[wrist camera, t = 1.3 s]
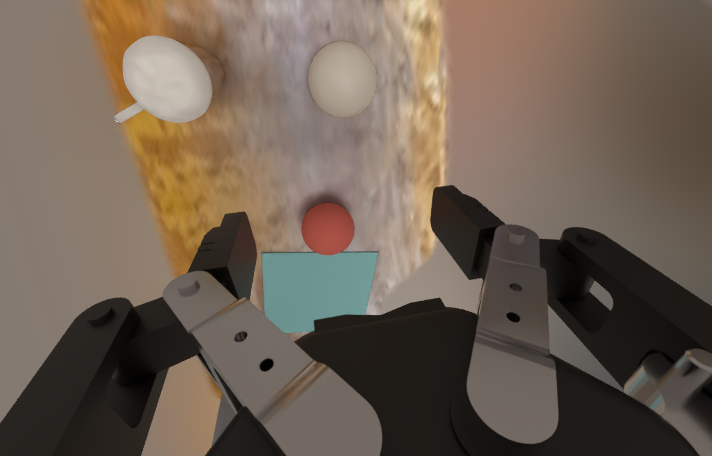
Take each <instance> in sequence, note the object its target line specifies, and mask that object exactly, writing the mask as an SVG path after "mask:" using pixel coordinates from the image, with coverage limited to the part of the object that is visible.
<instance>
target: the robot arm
mask: <svg viewBox="0 0 712 456" xmlns="http://www.w3.org/2000/svg"><path fill="white" fill-rule="evenodd" d="M430 221H431V227H432V230H433V232H434V233H435V235H436V236H437V237H438V239H439V240H440V241H441V243H442V244H443V245H444V247H445V248H446V249H447V251H448V252H449V253H450V255H451V256H452V257H453V259H454V260H455V261H456V263H457V264H458V265H459V267H460V268H461V270H462V271H463V272H464V274H465V275H466V276H467V278H468V279H469V280H472V279H477V278H482V279H483V283H482V288H481V292H480V297H479V301H478V306H477V311H476V314H475V313H472V312H469V311H466V310H463V309H458V308H451V307H445V305H444V304H443V302H442V300H441V299H440V298H435V299H429V300H424V301H418V302H412V303H409V304H407V305H404V306H402V307H399V308H397V309H395V310H392V311H390V312H387V313H385V314H382V315H352V314H345V315H339V316H334V317H328V318H323V319H317V320H314V331H312V332H310V333H308V334H306V335H304V336H302V337H300V338H299V339H298V340H296V341H295V342H293V341H292V340H291V339H290V338H289V337H288V336H287V335H286V334H285V333H283V332H282V331H281V330H280V329H279V328H278V327H277V326H276V325H275V324H274V323H273V322H271V321H270V320H269V319H268V318H267V317H266V316H265V315H264V314H263V313H262V312H261V311H259V310H258V309H257V308H256V307H255V306H254V305H253V304H252V303H251V302H250V301H249V300H250V294H251V288H252V282H253V276H254V270H255V265H256V259H257V250H256V244H255V240H254V237H253V234H252V230H251V227H250V223H249V220H248V217H247V214H246V212H237V213H229V214H225V215H224V218H223V220H222V223H221V225H220V227H215V228H212V229H211V230H210V231H209V232H208V233H207V234H206V235H205V236H204V238H203V240H202V242H201V245H200V247H199V249H198V252H197V253H196V255H195V257H194V260H193V262H192V264H191V266H190V268H189V270H188V273H186V274H183V275H181V276H179V277H177V278H176V279H174V280H173V281H171V282H170V283H169V284H168V285H167V287H166V288H165V289H164V292H163V297H161V298H158V299H156V300H153V301H150V302H147V303H145V304H142V305H139V306H136V307H133V305H132V304H131V302H130V301H129V300H128V299H126V298H112V299H108V300H105V301H102V302H100V303H97V304H95V305H93V306H91V307H90V308H88V309H87V310H85V311H84V312H82V313H81V314H80V315H79V316H78V317H77V318H76V319H75V320H74V321H73V323H72V324H71V325H70V327H69V328H68V329H67V331H66V332H65V334H64V335H63V336H62V338H61V339H60V341H59V342H58V343H57V345H56V346H55V348H54V349H53V350H52V352H51V353H50V355H49V356H48V357H47V359H46V360H45V362H44V363H43V364H42V366H41V367H40V369H39V370H38V371H37V373H36V374H35V376H34V377H33V378H32V380H31V381H30V383H29V384H28V385H27V387H26V388H25V390H24V391H23V392H22V394H21V395H20V397H19V398H18V399H17V401H16V402H15V404H14V405H13V406H12V408H11V409H10V411H9V412H8V413H7V415H6V416H5V418H4V419H3V420H2V422H1V423H0V456H141V454H142V451H143V448H144V444H145V441H146V438H147V435H148V432H149V429H150V426H151V422H152V419H153V416H154V413H155V410H156V407H157V403H158V400H159V397H160V394H161V391H162V388H163V384H164V381H165V378H166V375H167V372H168V369H169V367H171V366H173V365H176V364H178V363H180V362H182V361H184V360H187V359H189V358H191V357H193V356H197V357H198V359H199V360H200V362H201V363H202V365H203V366H204V367H205V369H206V370H207V372H208V373H209V374H210V376H211V377H212V379H213V380H214V382H215V383H216V384H217V386H218V387H219V389H220V390H221V392H222V396H221V401H220V406H219V411H218V417H217V421H216V426H215V431H214V437H213V442H212V447H211V448H210V450H209V451H208V452H207V454H206V455H205V456H712V306H710V305H709V304H707V303H706V302H704V301H703V300H701V299H700V298H698V297H697V296H695V295H694V294H692V293H691V292H689V291H688V290H686V289H685V288H683V287H682V286H680V285H679V284H677V283H676V282H674V281H673V280H671V279H670V278H668V277H667V276H665V275H664V274H662V273H661V272H659V271H658V270H656V269H655V268H653V267H652V266H650V265H649V264H647V263H646V262H644V261H643V260H641V259H640V258H638V257H637V256H635V255H634V254H632V253H631V252H629V251H628V250H626V249H625V248H623V247H622V246H620V245H619V244H617V243H616V242H614V241H613V240H611V239H610V238H608V237H607V236H605V235H604V234H601V233H599V232H597V231H594V230H591V229H587V228H581V227H572V228H567V229H565V230H564V232H563V233H562V236H561V238H560V240H553V239H539V236H538V235H537V234H536V233H535V232H534V231H532V230H530V229H528V228H526V227H523V226H519V225H512V224H507V225H506V224H505V223H504V222H502V221H501V220H500V219H499V218H498V217H496V216H495V215H494V214H493V213H492V212H490V211H489V210H488V209H487V208H486V207H485V206H483V205H482V204H481V203H480V202H479V201H478V200H476V199H475V198H472V197H470V196H468V195H466V194H463V193H461V192H460V191H459V190H458V189H457V188H456V187H455V186H453V185H449V186H441V187H436V188H435V189H434V191H433V198H432V208H431V218H430ZM594 281H596V282H597V283H599V284H600V285H601V286H602V287H603V288H605V289H606V290H607V291H608V292H609V293H610V295H611V296H612V298H613V308H612V310H611V311H610V310H609V309H608V308H607V307H606V306H604V305H603V304H602V303H601V302H600V301H599V300H598V299H597V298H596V297H595V296H594V295H592V294H591V293H590V292H589V290H590V288H591V286H592V285H593V283H594ZM548 305H549V306H550V307H551V308H552V309H553V310H554V311H555V312H556V314H557V315H558V316H559V317H560V318H561V319H562V321H564V323H565V324H566V325H567V326H568V327H569V328H570V329H571V330H572V332H573V333H574V334H575V335H576V336H577V337H578V338H579V339H580V341H581V342H582V343H583V344H584V345H585V346H586V347H587V348H588V350H589V351H590V352H591V353H592V354H593V355H594V356H595V357H596V359H597V360H598V361H599V362H600V363H601V364H602V365H603V366H604V368H605V369H606V370H607V371H608V372H609V373H610V374H611V375H612V377H613V378H614V379H615V380H616V381H617V382H618V383H619V385H620V386H621V387H622V388H623V389H624V392H625V393H623V392H621V391H619V390H618V389H616V388H614V387H612V386H610V385H608V384H606V383H604V382H603V381H601V380H599V379H597V378H595V377H593V376H591V375H590V374H588V373H586V372H584V371H582V370H580V369H578V368H577V367H574V366H573V365H571V364H569V363H567V362H565V361H563V360H562V359H560V358H558V357H556V356H554V355H552V354H550V346H549V322H548Z"/></svg>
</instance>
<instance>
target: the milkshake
mask: <svg viewBox="0 0 712 456" xmlns="http://www.w3.org/2000/svg"><path fill="white" fill-rule="evenodd" d="M123 77H124V81H125V84H126V86H127V88H128V90H129V92H130V93H131V95H132V96H133V97H134V99H135V100H136V101H137V102H136V103H135V104H133V105H131V106H129V107H128V108H126V109H124V110H122V111H121V112H119V113H117V114H115V115H114V116H112V118H113V119H114V120H115V121H116V122H117V123H119V124H121V123H123V122H124V121H126V120H127V119H129V118H131V117H132V116H134V115H136V114H137V113H139V112H141V111H142V110H144V109H145V110H147V111H148V112H149V113H151V114H152V115H154V116H155V117H157V118H159V119H162V120H165V121H169V122H176V123H184V122H190V121H193V120H195V119H197V118H198V117H200V116H201V115H203V114H204V113H205V112H206V110H207V109H208V107H209V105H210V103H211V101H212V99H213V98H214V97H215V95H216V94H217V92H218V91H219V90H220V88H221V87H222V84H223V78H224V71H223V69H222V66H221V64H220V62H219V59H218V58H216V57H215V56H214V55H212V54H211V53H210V52H208V51H207V50H206V49H202V48H198V47H195V46H191V45H187V44H184V43H181V42H178V41H176V40H173V39H170V38H167V37H163V36H155V35H153V36H146V37H143V38H140V39H139V40H137V41H136V42H134V43H133V44H132V45H131V46H130V47H129V48H128V49H127V50H126V52H125V54H124V57H123Z"/></svg>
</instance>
